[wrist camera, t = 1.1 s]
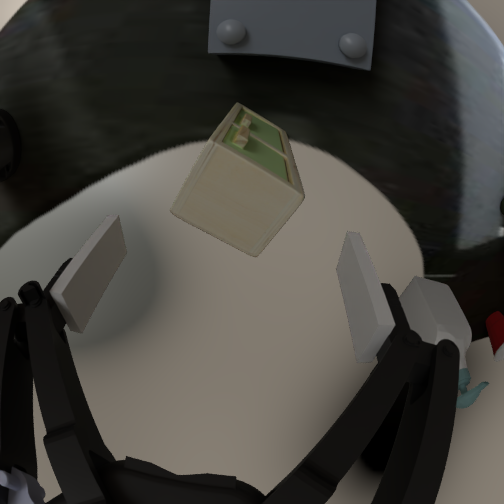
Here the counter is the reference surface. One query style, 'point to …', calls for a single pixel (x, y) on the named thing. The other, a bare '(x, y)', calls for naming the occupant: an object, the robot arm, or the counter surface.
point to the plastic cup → (496, 334)
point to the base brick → (295, 30)
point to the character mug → (502, 207)
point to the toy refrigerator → (242, 183)
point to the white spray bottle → (440, 325)
